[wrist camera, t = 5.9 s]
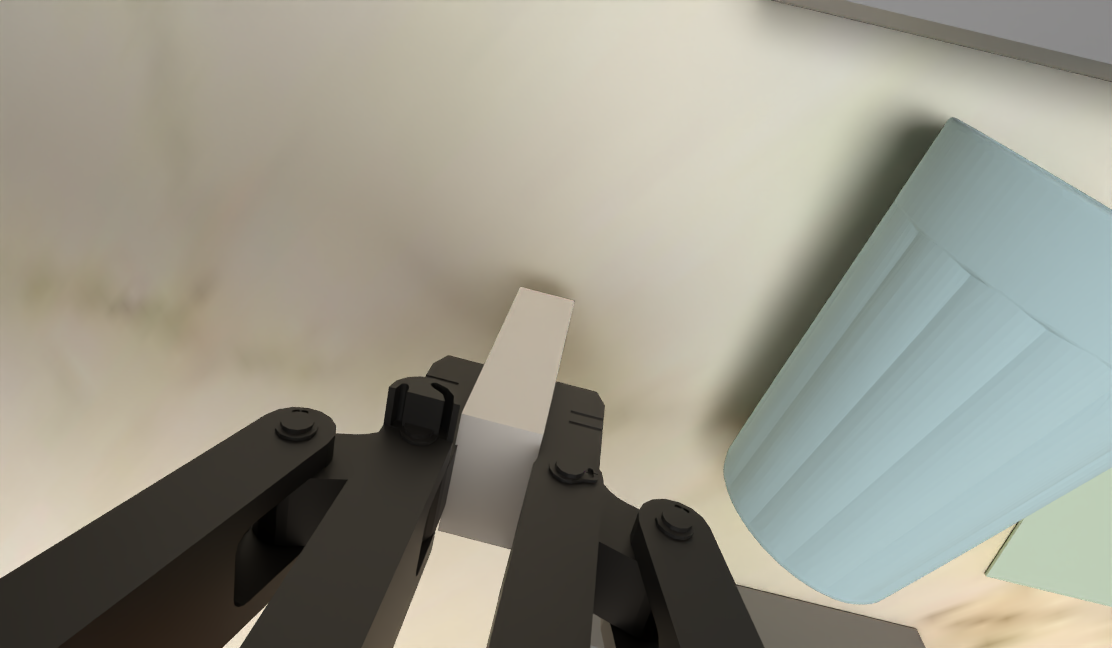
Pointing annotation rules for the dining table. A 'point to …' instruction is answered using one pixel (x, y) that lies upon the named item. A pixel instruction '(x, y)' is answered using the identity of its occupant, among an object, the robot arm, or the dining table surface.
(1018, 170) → the cup
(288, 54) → the dining table surface
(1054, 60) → the lane
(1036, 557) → the mat
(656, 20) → the dining table surface
